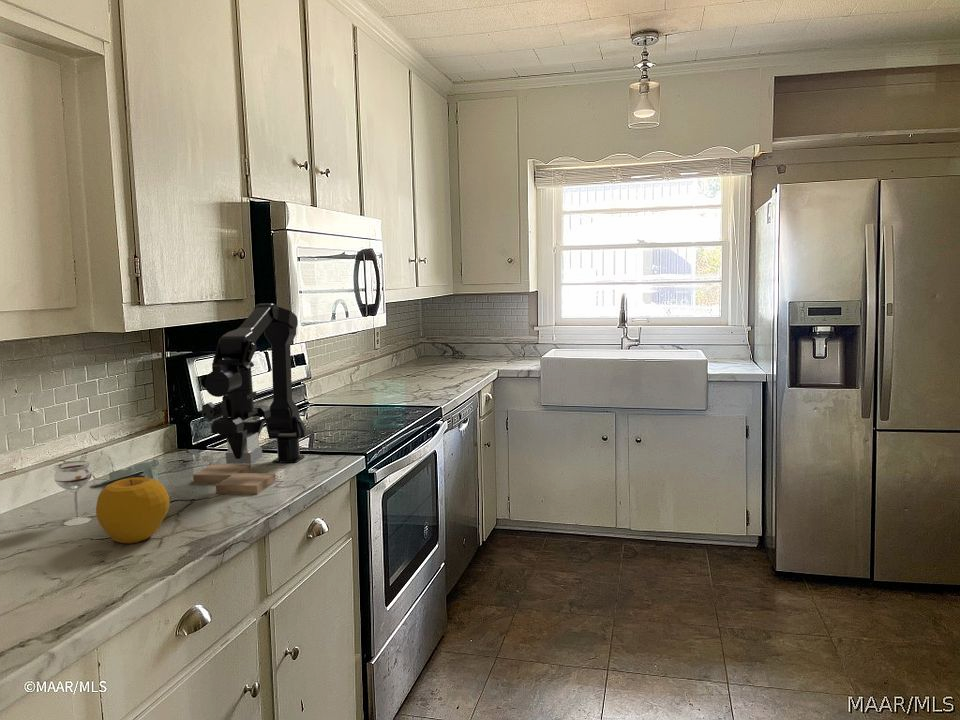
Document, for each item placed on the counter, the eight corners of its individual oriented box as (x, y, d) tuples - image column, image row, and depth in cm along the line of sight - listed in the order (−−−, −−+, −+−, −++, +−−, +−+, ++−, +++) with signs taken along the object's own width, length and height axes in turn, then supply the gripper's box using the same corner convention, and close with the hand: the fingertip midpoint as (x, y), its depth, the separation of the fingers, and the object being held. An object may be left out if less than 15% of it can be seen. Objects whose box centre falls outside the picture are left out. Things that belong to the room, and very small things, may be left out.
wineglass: (68, 516, 158) (63, 461, 156) (101, 515, 158) (96, 459, 156) (52, 527, 151) (46, 470, 149) (86, 526, 151) (81, 468, 150)
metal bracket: (173, 453, 188) (124, 468, 174) (180, 475, 188) (131, 492, 174) (135, 464, 194) (84, 480, 181) (142, 486, 194) (91, 503, 181)
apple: (144, 522, 152) (139, 468, 151) (186, 532, 146) (182, 475, 144) (84, 543, 141) (78, 484, 140) (126, 555, 135) (121, 493, 133)
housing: (238, 456, 178) (236, 432, 177) (262, 456, 177) (260, 432, 176) (226, 463, 172) (224, 438, 171) (251, 463, 171) (249, 438, 170)
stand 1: (214, 471, 190) (213, 463, 190) (251, 471, 189) (250, 464, 188) (193, 482, 180) (193, 474, 180) (232, 483, 179) (232, 475, 179)
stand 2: (236, 481, 181) (236, 472, 181) (275, 481, 179) (275, 473, 179) (216, 493, 171) (215, 485, 171) (257, 494, 169) (256, 485, 169)
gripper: (226, 382, 183) (231, 445, 185) (185, 396, 164) (191, 465, 166) (269, 382, 181) (273, 445, 183) (233, 396, 163) (238, 466, 165)
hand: (244, 455), depth 174 cm, fingers closed on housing, 6 cm apart
